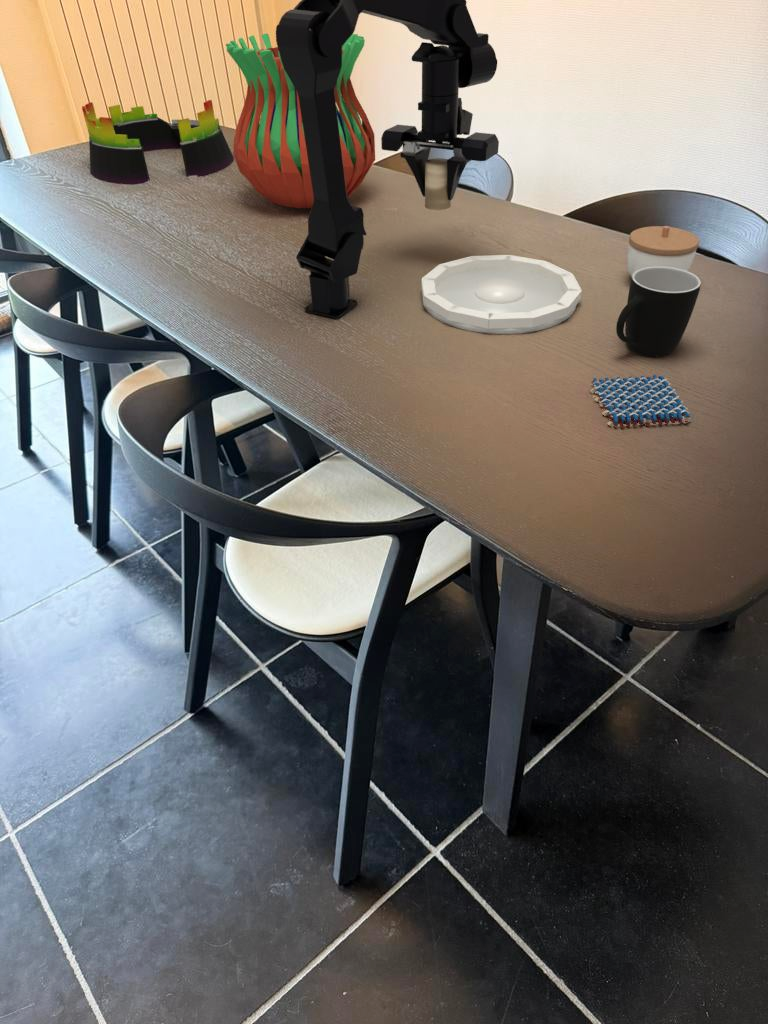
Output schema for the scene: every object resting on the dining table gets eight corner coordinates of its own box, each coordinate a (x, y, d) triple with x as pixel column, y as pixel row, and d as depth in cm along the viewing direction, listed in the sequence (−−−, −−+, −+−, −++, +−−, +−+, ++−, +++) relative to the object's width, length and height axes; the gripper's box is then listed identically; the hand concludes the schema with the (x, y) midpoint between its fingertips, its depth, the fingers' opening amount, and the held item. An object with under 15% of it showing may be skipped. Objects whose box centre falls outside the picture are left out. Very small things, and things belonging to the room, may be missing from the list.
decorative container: (263, 156, 189) (254, 91, 179) (162, 194, 165) (146, 122, 156) (164, 141, 204) (152, 81, 194) (59, 174, 181) (39, 107, 171)
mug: (649, 327, 107) (664, 261, 100) (696, 351, 101) (716, 282, 94) (589, 348, 103) (601, 280, 96) (635, 374, 97) (651, 303, 90)
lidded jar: (642, 301, 114) (655, 242, 108) (608, 276, 122) (619, 220, 116) (700, 291, 116) (716, 234, 110) (664, 267, 124) (677, 212, 118)
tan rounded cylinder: (443, 211, 119) (445, 166, 114) (420, 208, 121) (420, 163, 116) (454, 203, 122) (456, 159, 117) (431, 200, 124) (432, 157, 119)
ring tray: (546, 347, 103) (548, 331, 101) (395, 314, 113) (395, 299, 111) (596, 284, 119) (598, 269, 118) (460, 260, 129) (461, 246, 127)
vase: (400, 188, 163) (398, 31, 143) (332, 230, 143) (320, 55, 123) (290, 174, 174) (275, 27, 155) (214, 211, 154) (185, 47, 135)
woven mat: (661, 384, 95) (665, 371, 94) (692, 428, 87) (696, 415, 86) (585, 388, 95) (587, 375, 94) (608, 433, 87) (611, 419, 86)
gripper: (515, 87, 112) (506, 191, 122) (410, 80, 119) (410, 178, 129) (488, 101, 105) (481, 210, 115) (378, 92, 112) (381, 196, 122)
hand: (437, 197), depth 120 cm, fingers closed on tan rounded cylinder, 4 cm apart
